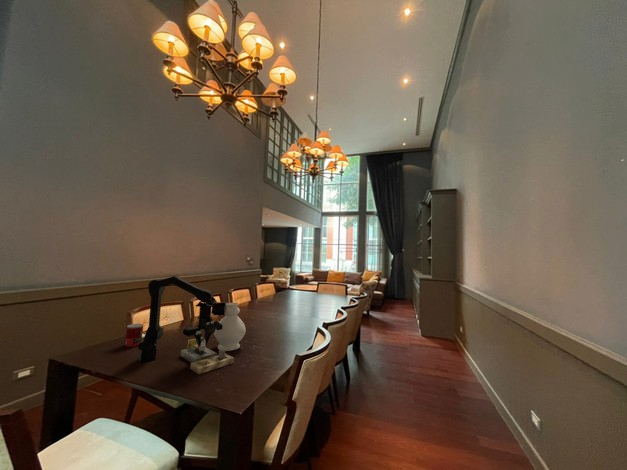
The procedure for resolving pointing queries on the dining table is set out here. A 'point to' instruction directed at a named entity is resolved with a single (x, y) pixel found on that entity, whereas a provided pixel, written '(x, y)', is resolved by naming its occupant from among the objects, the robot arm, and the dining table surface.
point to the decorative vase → (230, 329)
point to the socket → (196, 354)
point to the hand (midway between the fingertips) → (202, 345)
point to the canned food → (134, 335)
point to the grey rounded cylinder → (202, 346)
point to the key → (193, 344)
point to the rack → (212, 363)
